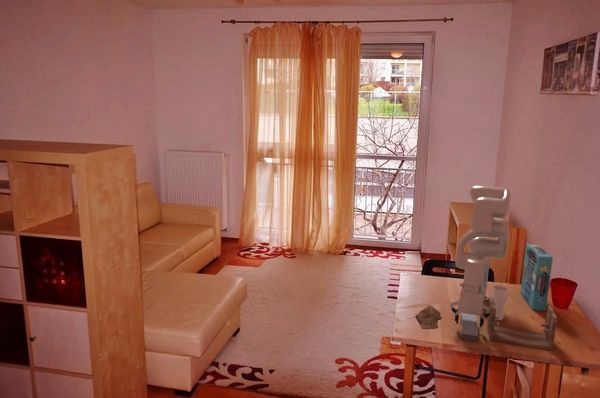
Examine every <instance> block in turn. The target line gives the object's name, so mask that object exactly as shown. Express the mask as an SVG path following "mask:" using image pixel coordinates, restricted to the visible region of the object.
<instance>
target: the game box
mask: <svg viewBox="0 0 600 398" xmlns="http://www.w3.org/2000/svg"><path fill="white" fill-rule="evenodd" d="M524 254H525V255H524V261H523V262H524V263H523V268H522V269H523V271H522V278H521V285H520V294H521V296H522V297H523V299H524V300H525V301H526V302H527V304H528V305H529V307H530V308H531V310H533V311H544V312H545V311H546V312H547V306H548V305H547V304H548V303H547V302H548V295H549V287H550V281H551V280H550V279H551V273H552V272H551V271H552V264H553V256H552V255H551V254H549V253H548V252H547V251H546V250H545V249H544V248H543V247H542V246H540V245H539V244H531V243H526V244H525V253H524Z"/></svg>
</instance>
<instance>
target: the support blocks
mask: <svg viewBox="0 0 600 398" xmlns="http://www.w3.org/2000/svg"><path fill="white" fill-rule="evenodd" d="M459 319H460V325H462V323H461V318H459ZM460 338H461V339H460V340H463V339H464V340H463V341H470V342H477V341H478V336H473V335H467V334H462V330H461V331H460Z"/></svg>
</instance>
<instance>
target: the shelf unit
mask: <svg viewBox="0 0 600 398" xmlns="http://www.w3.org/2000/svg"><path fill="white" fill-rule="evenodd" d="M489 308H491V314H490V315H489V316H488V317H487V328H486V329H487V333H488V340H489V341H491V342H498V343H504V344H509V345H515V346H516V345H517V346H522V347H528V348H529V347H530V348H535V349H539V350H540V349H542V350H548V351H553V349H554V344H555V336H556V330H557V322H558V317H557V315H556V313H555V311H554V309H553V306H551V305H547V307H546V316H545V317H546V318H545V323H541V327H544V328H543V332H536V331H532V330H525V329H524V330H523V329H518V328H517V329H516V328H512V327H506V326H505V327H503V326H499V325H500V322H499V320H498V317H495V316H496V306H495V302H494V298H491V297H490V300H489ZM495 319H496V320H495Z"/></svg>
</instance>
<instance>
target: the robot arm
mask: <svg viewBox="0 0 600 398" xmlns="http://www.w3.org/2000/svg"><path fill="white" fill-rule="evenodd" d="M469 192H470V193H469V194H470V197H471V200H472V202H473V206H472V213H471V214H472V215H471V221H470V227H469V230H468V231H467V232H466V233H464V234H463V235H462V236H461V238H460V239H459V241H458V242H457V243H458V244H457V246H456V253H455V265H456V268H459V269H460V270H461V269H462V270H464V274H463V276H464V277H463V282H461V283H459V287H462V288H461V289H460V293H459V296H458V297H459V298H458V300H456V301H452V302H449V304H448V305H449V308H450V310H451V311H452V313H453V314H454V322H455V323H456V325H459V319H460V318H459V317H460V314H461V313H465V314H472V315H476V316H479V328H481V329H482V327H483V326H484V325H485V319H487V318H488V317H489V315H490V314H491V308H490V306H488V305H486V304H485V301H488V300H489V298H490V296H489V294H488V293H487V286H488V277H489V269H490V268H491V259H490V258H494V259H503V258H504V257H506V255H507V251H508V242H509V233H510V224H509V221H508V220H507V219H505V218H506V217H507V216H508V214H509V209H510V202H511V191H510V189H509V188H505V187H500V186H499V187H497V186H491V185H490V186H489V185H474V186H472V187H471V188H470V191H469ZM467 244H468V251H469V252H467V251H464V248H465V246H466V245H467ZM455 306H457V308H456V307H455ZM484 310H486V312H485V313H484Z"/></svg>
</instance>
